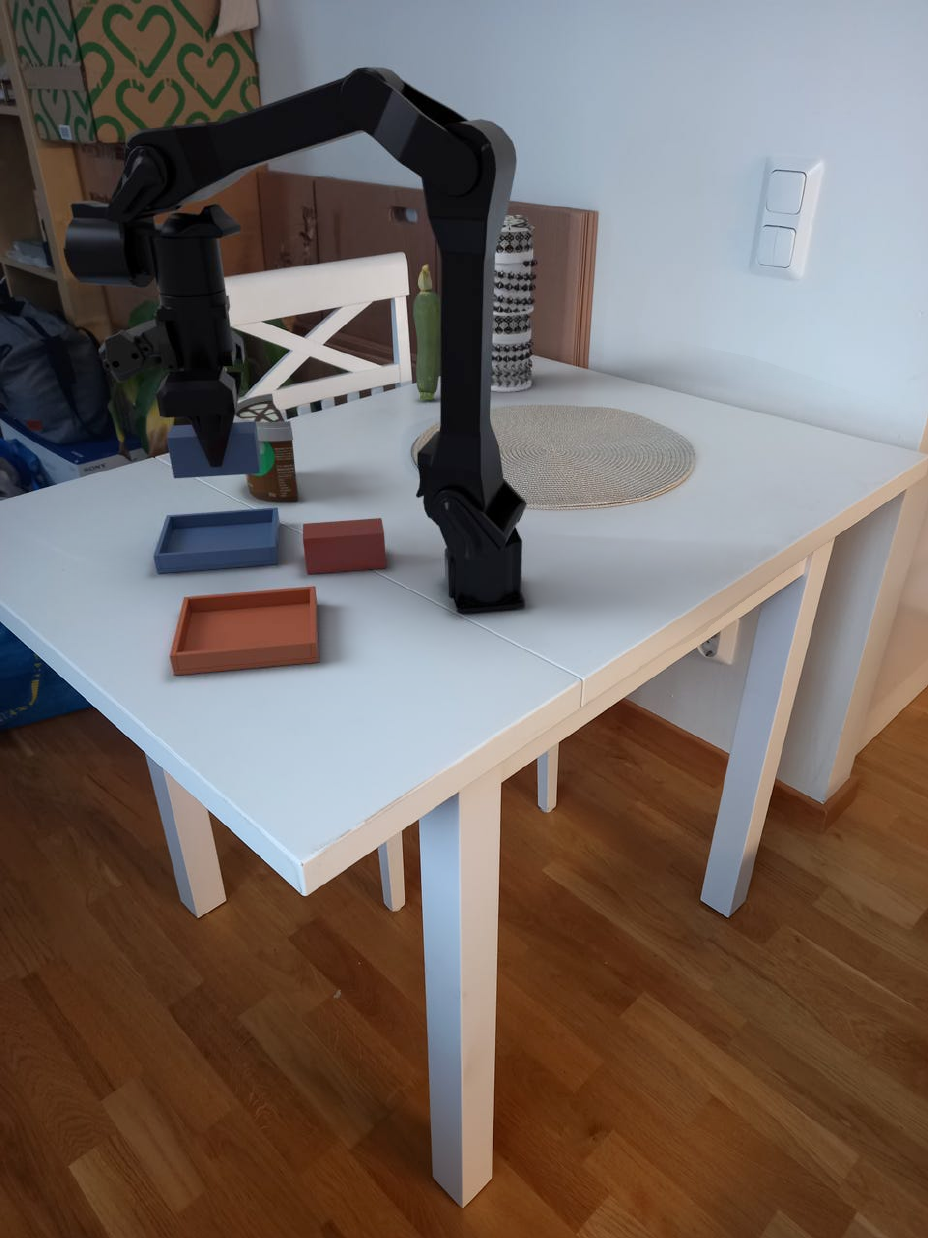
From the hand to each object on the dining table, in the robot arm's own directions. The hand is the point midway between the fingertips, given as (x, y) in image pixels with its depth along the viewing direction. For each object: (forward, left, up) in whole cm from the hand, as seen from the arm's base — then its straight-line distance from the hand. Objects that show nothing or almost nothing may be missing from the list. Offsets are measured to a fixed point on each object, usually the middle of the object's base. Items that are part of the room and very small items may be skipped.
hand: (217, 459), depth 86 cm
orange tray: (-2, +15, -11) cm, 19 cm away
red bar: (-11, +2, -11) cm, 16 cm away
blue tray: (+2, -4, -11) cm, 12 cm away
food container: (-2, -19, -12) cm, 22 cm away
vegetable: (-26, -51, -12) cm, 58 cm away
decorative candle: (-39, -57, -12) cm, 70 cm away
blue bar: (0, 0, -1) cm, 1 cm away
